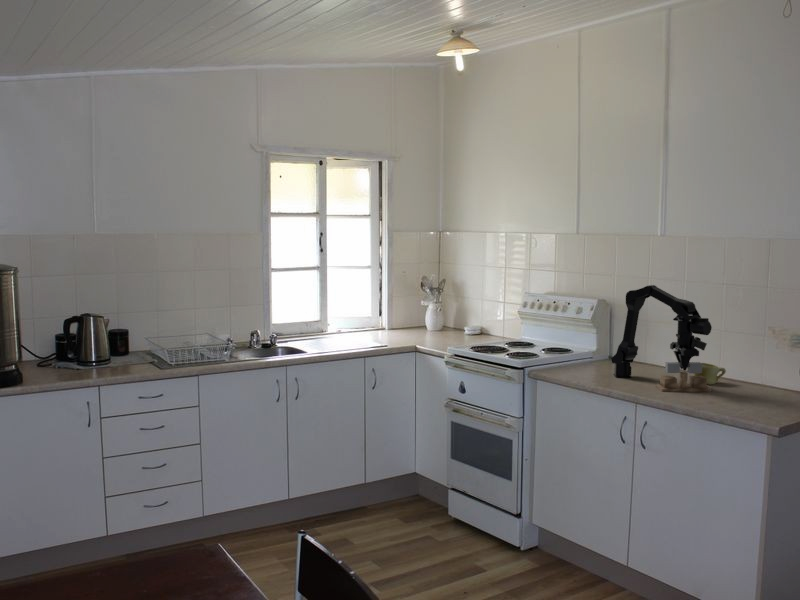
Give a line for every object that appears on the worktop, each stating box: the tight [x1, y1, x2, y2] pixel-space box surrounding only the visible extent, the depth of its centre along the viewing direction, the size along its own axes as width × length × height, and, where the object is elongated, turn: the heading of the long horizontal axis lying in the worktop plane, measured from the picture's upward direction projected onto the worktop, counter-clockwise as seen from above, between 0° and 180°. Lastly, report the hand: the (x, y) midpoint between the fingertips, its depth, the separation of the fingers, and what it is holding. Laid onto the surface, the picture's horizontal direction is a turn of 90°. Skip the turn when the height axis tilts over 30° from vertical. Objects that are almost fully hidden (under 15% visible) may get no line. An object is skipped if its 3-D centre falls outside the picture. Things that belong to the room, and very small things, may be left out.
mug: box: [694, 362, 727, 386], centre depth 324 cm, size 12×10×10 cm
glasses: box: [664, 361, 703, 374], centre depth 312 cm, size 14×3×4 cm, turn 87°
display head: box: [655, 371, 712, 393], centre depth 313 cm, size 20×9×7 cm, turn 87°
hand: (683, 369), depth 313 cm, fingers closed on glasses, 3 cm apart
